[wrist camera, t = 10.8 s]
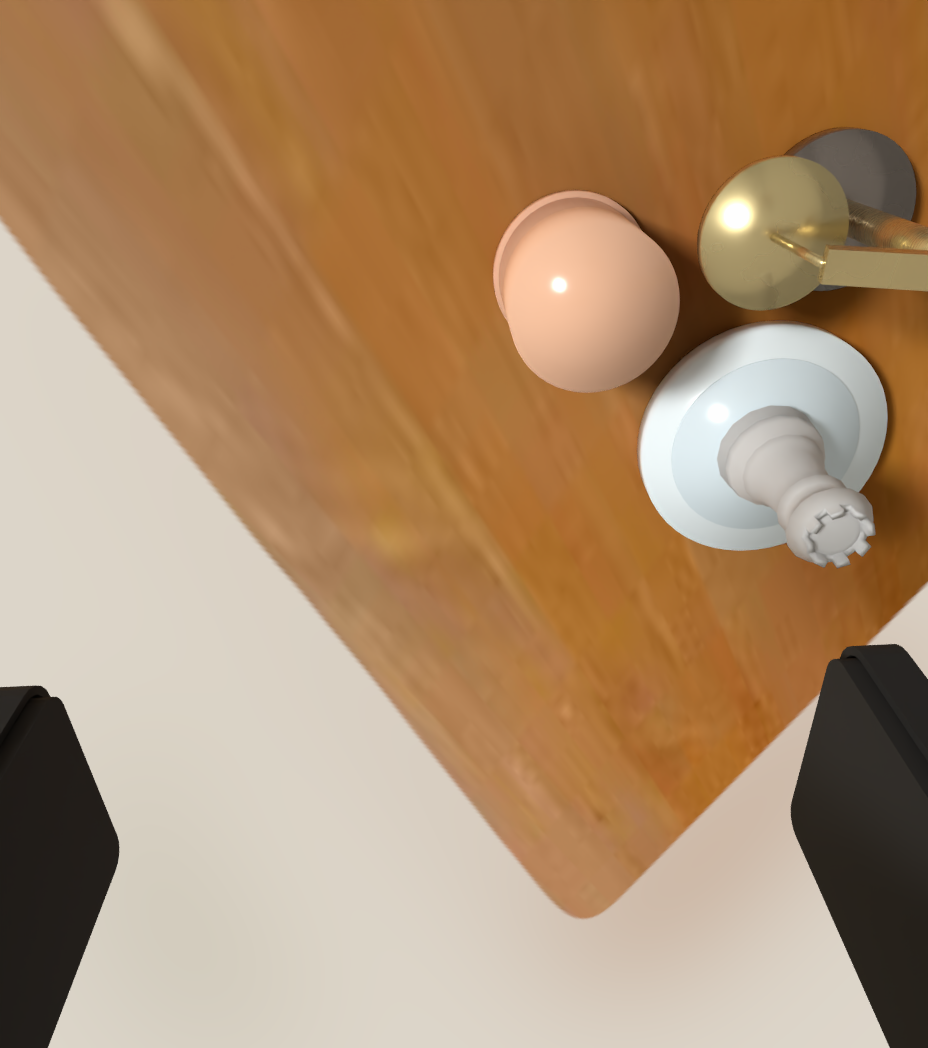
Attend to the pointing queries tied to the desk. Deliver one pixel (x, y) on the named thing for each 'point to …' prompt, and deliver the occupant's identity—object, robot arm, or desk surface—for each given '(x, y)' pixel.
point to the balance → (815, 222)
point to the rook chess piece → (795, 484)
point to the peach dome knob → (584, 291)
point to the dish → (732, 392)
